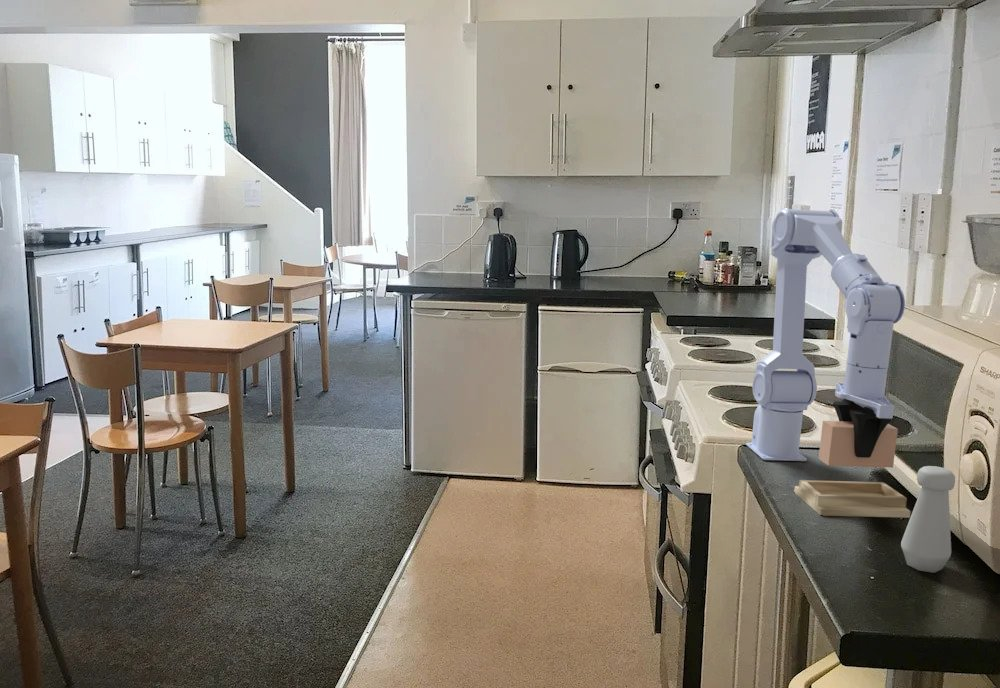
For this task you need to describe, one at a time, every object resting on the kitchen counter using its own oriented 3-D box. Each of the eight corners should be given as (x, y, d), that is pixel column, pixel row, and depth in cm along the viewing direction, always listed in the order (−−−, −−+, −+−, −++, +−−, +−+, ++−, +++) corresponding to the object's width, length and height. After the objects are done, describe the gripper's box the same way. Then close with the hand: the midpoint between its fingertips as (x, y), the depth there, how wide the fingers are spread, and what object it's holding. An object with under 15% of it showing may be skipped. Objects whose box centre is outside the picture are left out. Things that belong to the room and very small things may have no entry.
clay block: (818, 458, 135) (822, 420, 134) (881, 460, 135) (886, 422, 134) (828, 465, 131) (832, 426, 130) (892, 467, 132) (897, 428, 131)
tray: (794, 492, 139) (795, 477, 139) (877, 494, 140) (879, 479, 139) (820, 515, 129) (822, 499, 129) (909, 517, 130) (911, 501, 130)
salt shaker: (897, 568, 112) (910, 470, 109) (900, 552, 117) (912, 458, 114) (948, 579, 109) (962, 479, 107) (949, 563, 114) (963, 467, 112)
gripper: (820, 354, 138) (811, 438, 140) (863, 374, 123) (852, 466, 126) (864, 356, 138) (854, 439, 140) (912, 375, 124) (900, 468, 126)
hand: (856, 452), depth 133 cm, fingers closed on clay block, 3 cm apart
